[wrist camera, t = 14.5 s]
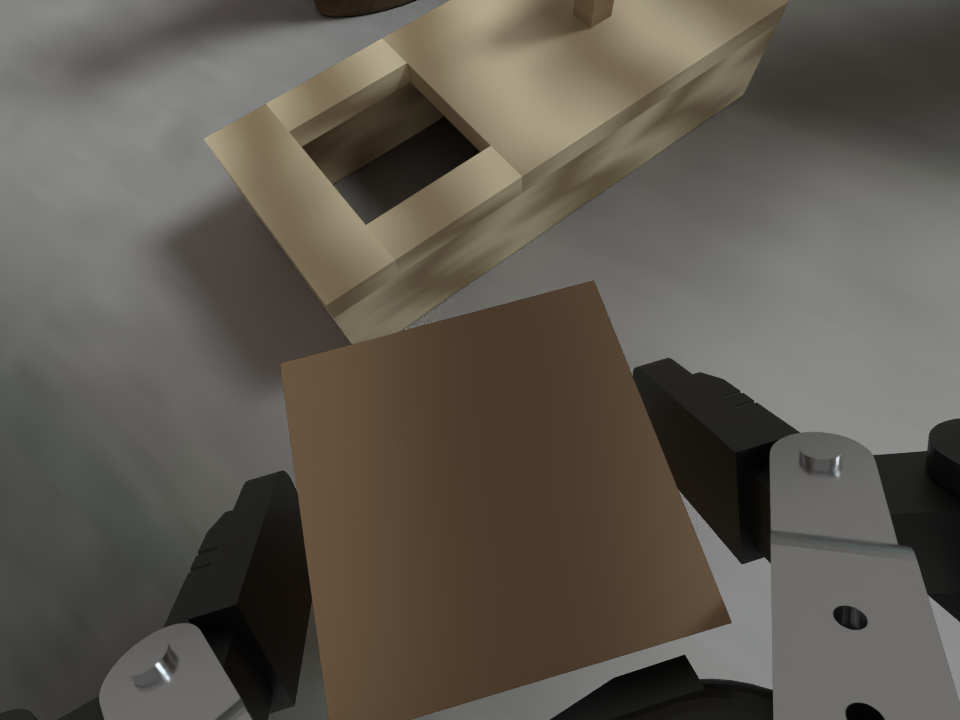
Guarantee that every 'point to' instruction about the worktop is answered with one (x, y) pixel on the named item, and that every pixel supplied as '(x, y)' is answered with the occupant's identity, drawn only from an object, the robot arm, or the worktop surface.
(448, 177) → the pine toolbox
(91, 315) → the worktop surface
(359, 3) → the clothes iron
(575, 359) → the walnut key
